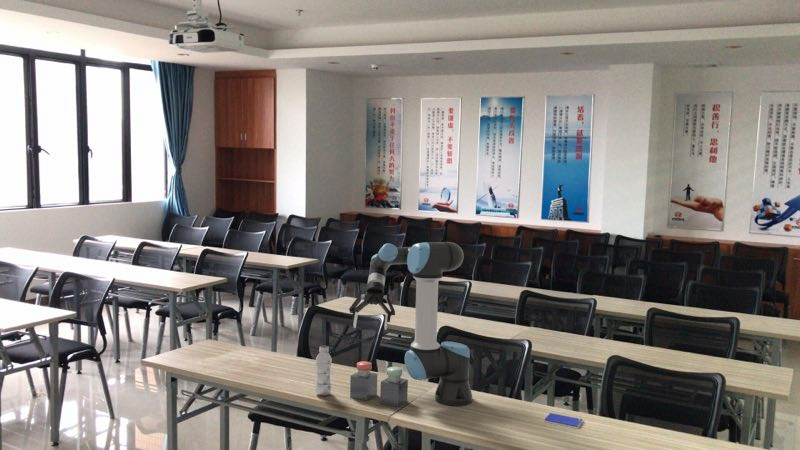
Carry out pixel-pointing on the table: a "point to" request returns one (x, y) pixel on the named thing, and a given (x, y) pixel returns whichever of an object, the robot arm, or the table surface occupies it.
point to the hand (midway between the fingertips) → (369, 327)
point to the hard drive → (563, 420)
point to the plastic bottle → (323, 371)
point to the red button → (364, 368)
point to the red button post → (363, 386)
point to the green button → (394, 374)
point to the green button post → (394, 393)
